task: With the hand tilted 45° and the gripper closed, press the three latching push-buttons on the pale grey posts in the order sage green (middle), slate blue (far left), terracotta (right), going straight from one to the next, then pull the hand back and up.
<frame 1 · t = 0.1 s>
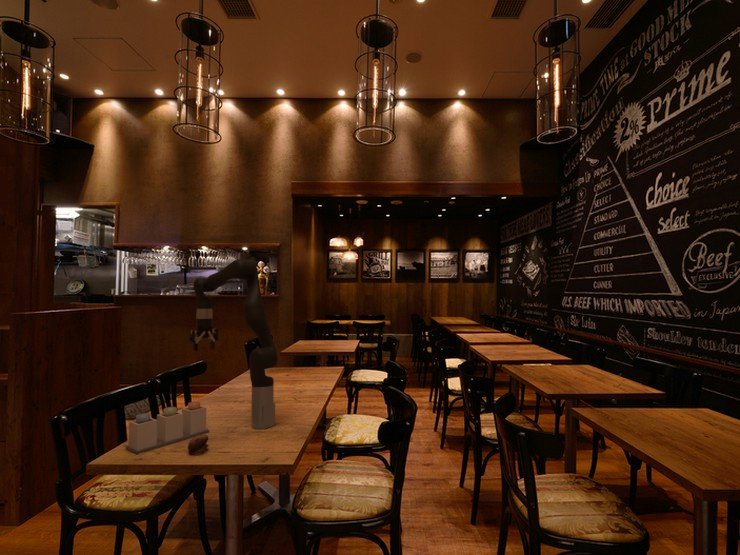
hand: (204, 350, 198), 29 cm above the table, fingers open, 8 cm apart
sage button: (170, 412, 154), point 11 cm above the table, slide at 0.0 cm
button stand: (169, 440, 154), on the table
mushroom: (198, 452, 142), on the table
terracotta button: (194, 406, 163), point 11 cm above the table, slide at 0.0 cm
slate button: (143, 418, 146), point 11 cm above the table, slide at 0.0 cm
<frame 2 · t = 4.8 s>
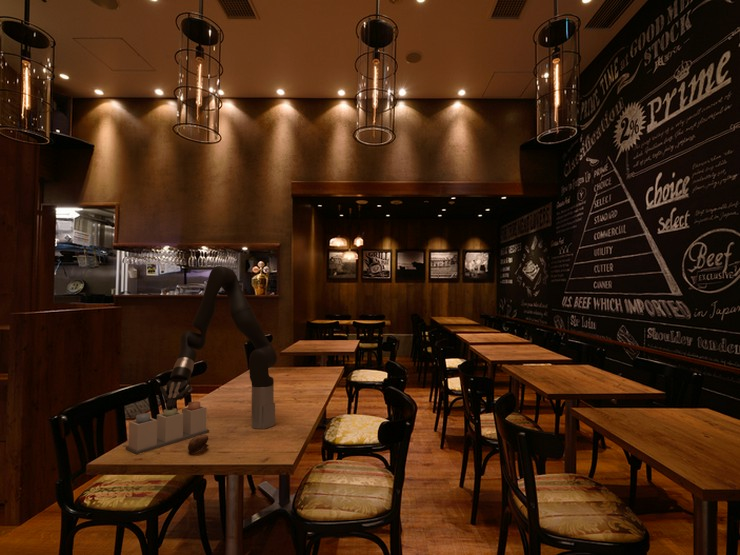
hand: (169, 408, 154), 12 cm above the table, fingers closed
sage button: (170, 413, 154), point 10 cm above the table, slide at 0.5 cm, touching gripper
everything else where it was.
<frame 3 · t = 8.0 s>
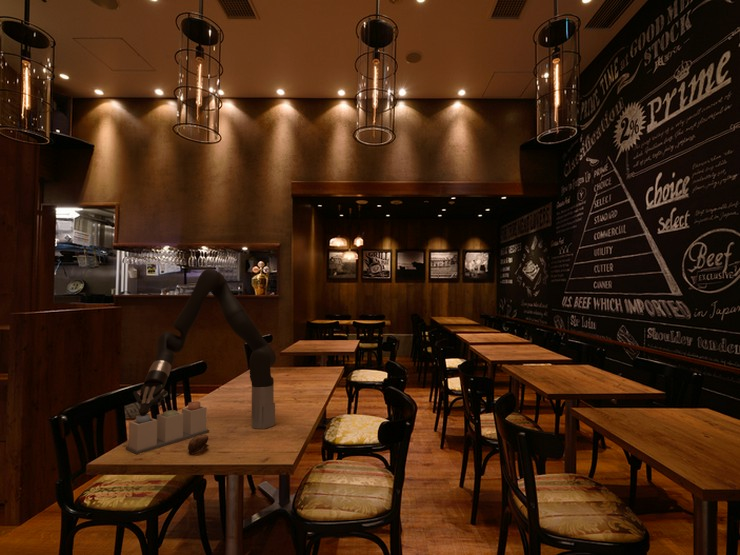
hand: (142, 414, 146), 12 cm above the table, fingers closed
sage button: (170, 415, 154), point 9 cm above the table, slide at 1.3 cm
slate button: (143, 419, 146), point 10 cm above the table, slide at 0.4 cm, touching gripper
everything else where it was.
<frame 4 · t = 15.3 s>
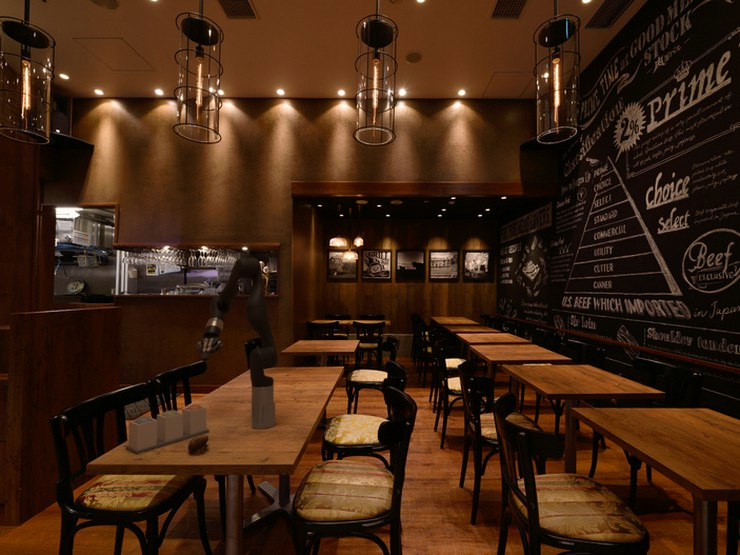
hand: (204, 360, 175), 28 cm above the table, fingers closed
terracotta button: (194, 409, 163), point 9 cm above the table, slide at 1.4 cm
slate button: (143, 422, 146), point 9 cm above the table, slide at 1.3 cm
everything else where it was.
at the end: sage button slide at 1.3 cm; slate button slide at 1.3 cm; terracotta button slide at 1.4 cm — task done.
